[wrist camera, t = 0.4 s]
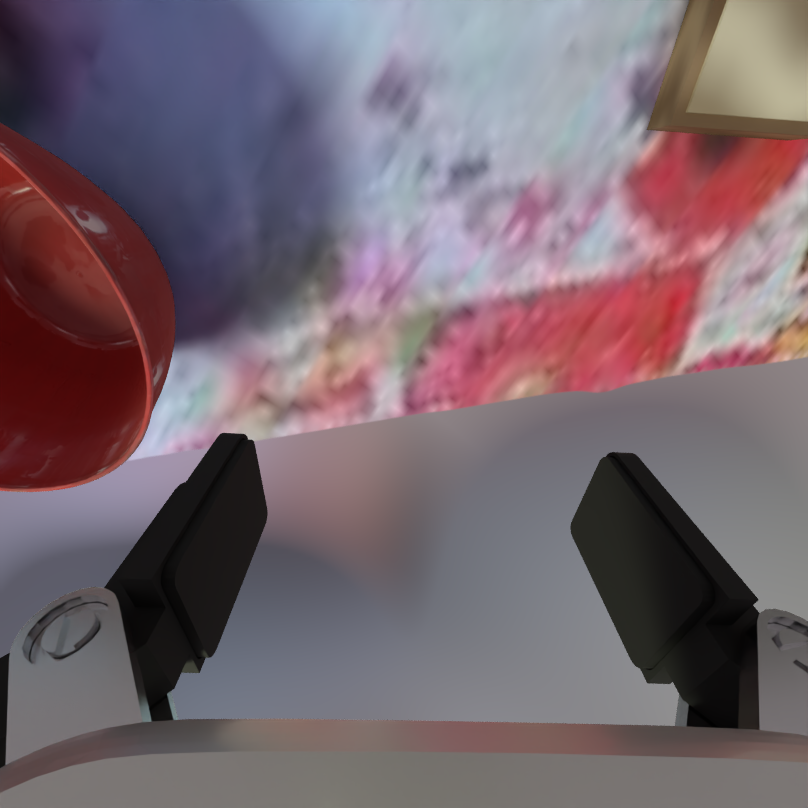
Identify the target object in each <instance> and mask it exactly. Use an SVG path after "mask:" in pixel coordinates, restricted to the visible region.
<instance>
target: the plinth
mask: <svg viewBox="0 0 808 808" xmlns="http://www.w3.org/2000/svg"><path fill="white" fill-rule="evenodd" d="M647 130H657V131H670V132H684V133H697V134H710V135H724V136H737V137H751V138H764V139H777V140H796V139H807V138H808V0H690V1H689V4H688V7H687V10H686V13H685V16H684V19H683V22H682V25H681V28H680V31H679V34H678V37H677V40H676V43H675V46H674V49H673V52H672V55H671V58H670V61H669V65H668V68H667V71H666V74H665V77H664V80H663V83H662V86H661V89H660V92H659V95H658V98H657V101H656V104H655V107H654V110H653V113H652V116H651V119H650V122H649V125H648V128H647Z"/></svg>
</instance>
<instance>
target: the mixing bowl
mask: <svg viewBox="0 0 808 808" xmlns="http://www.w3.org/2000/svg"><path fill="white" fill-rule="evenodd" d="M174 341H175V305H174V298H173V293H172V289H171V286H170V282H169V279H168V276H167V273H166V271H165V269H164V267H163V265H162V263H161V260H160V258H159V256H158V254H157V252H156V251H155V249H154V248H153V246H152V245H151V243H150V242H149V240H148V239H147V237H146V236H145V234H144V233H143V231H142V230H141V228H140V227H139V226H138V225H137V224H136V223H135V222H134V221H133V219H132V218H131V217H130V216H129V215H128V214H127V213H126V212H125V210H124V209H122V208H121V207H120V206H119V205H118V204H117V203H116V202H115V201H114V200H113V199H112V198H111V197H109V196H108V195H107V194H106V193H105V192H103V191H102V190H101V189H100V188H99V187H97V186H96V185H95V184H94V183H92V182H91V181H90V180H89V179H88V178H86V177H85V176H84V175H82V174H81V173H80V172H78V171H77V170H76V169H74V168H73V167H71V166H70V165H68V164H67V163H66V162H64V161H63V160H61V159H60V158H58V157H56V156H55V155H53V154H52V153H50V152H48V151H47V150H45V149H44V148H42V147H40V146H39V145H37V144H36V143H34V142H32V141H31V140H29V139H27V138H25V137H24V136H22V135H20V134H19V133H17V132H15V131H14V130H12V129H10V128H9V127H7V126H5V125H3V124H1V123H0V491H12V492H37V491H38V492H39V491H52V490H59V489H65V488H70V487H75V486H79V485H82V484H85V483H88V482H91V481H94V480H96V479H98V478H100V477H103V476H105V475H106V474H108V473H110V472H111V471H113V470H115V469H116V468H118V467H119V466H120V465H122V464H123V463H124V462H125V461H126V460H127V459H128V458H129V457H130V456H131V455H132V454H133V453H134V452H135V450H136V449H137V447H138V446H139V444H140V443H141V441H142V440H143V438H144V435H145V433H146V431H147V428H148V425H149V422H150V418H151V414H152V411H153V409H154V406H155V404H156V402H157V400H158V398H159V396H160V394H161V391H162V388H163V385H164V383H165V380H166V377H167V374H168V370H169V366H170V362H171V357H172V352H173V348H174Z"/></svg>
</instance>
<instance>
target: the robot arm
mask: <svg viewBox="0 0 808 808" xmlns="http://www.w3.org/2000/svg"><path fill="white" fill-rule="evenodd" d="M266 520H267V506H266V500H265V495H264V490H263V485H262V480H261V475H260V469H259V464H258V459H257V454H256V449H255V444H254V441H253V440H248V438H247V436H246V435H245V434H234V433H221V434H220V435H219V436H218V437H217V439H216V440H215V442H214V443H213V444H212V446H211V447H210V449H209V450H208V451H207V453H206V454H205V456H204V457H203V459H202V460H201V461H200V463H199V464H198V466H197V467H196V468H195V470H194V471H193V473H192V474H191V476H190V477H189V479H188V480H187V481H186V483H185V482H184V483H182V484H180V485H179V486H178V487H177V488H176V489H175V490H174V492H173V493H172V495H171V496H170V497H169V499H168V500H167V502H166V503H165V504H164V506H163V507H162V509H161V510H160V511H159V513H158V514H157V515H156V517H155V518H154V520H153V521H152V523H151V524H150V525H149V526H148V528H147V529H146V531H145V532H144V533H143V535H142V536H141V537H140V539H139V540H138V542H137V543H136V544H135V546H134V547H133V549H132V550H131V551H130V553H129V554H128V556H127V557H126V558H125V560H124V561H123V563H122V564H121V565H120V567H119V568H118V569H117V571H116V572H115V574H114V575H113V576H112V578H111V579H110V580H109V582H108V583H107V585H106V586H105V587H104V588H98V587H91V588H85V589H79V590H77V591H74V592H71V593H69V594H66V595H64V596H62V597H60V598H59V599H57V600H55V601H53V602H51V603H50V604H48V605H47V606H45V607H44V608H43V609H42V610H40V611H39V612H38V613H37V614H35V615H34V616H33V617H32V618H31V619H30V620H29V621H28V622H27V623H26V625H25V626H24V627H23V628H22V629H21V630H20V632H19V634H18V635H17V637H16V639H15V640H14V642H13V644H12V648H11V652H10V653H9V654H7V655H5V656H3V657H1V658H0V808H808V621H806V620H805V619H803V618H801V617H799V616H796V615H794V614H792V613H789V612H787V611H782V610H778V609H766V610H764V611H762V612H761V613H759V612H758V611H757V610H756V608H755V607H754V606H753V604H754V603H756V602H757V601H758V598H757V597H756V596H755V595H754V594H753V593H752V591H751V590H750V589H749V588H748V586H746V584H745V583H744V582H743V581H742V579H741V578H740V577H739V576H738V575H737V574H736V572H735V571H734V570H733V569H732V568H731V566H730V565H729V564H728V563H727V562H726V561H725V559H724V558H723V557H722V556H721V554H720V553H719V552H718V551H717V550H716V549H715V547H714V546H713V545H712V544H711V543H710V542H709V540H708V539H707V538H706V537H705V536H704V534H703V533H702V532H701V531H700V530H699V528H698V527H697V526H696V525H695V524H694V523H693V521H692V520H691V519H690V518H689V517H688V515H687V514H686V513H685V512H684V511H683V509H682V508H681V507H680V506H679V505H678V504H677V502H676V501H675V500H674V499H673V498H672V496H671V495H670V494H669V493H668V492H667V491H666V489H665V488H664V487H663V486H662V485H661V483H660V482H659V481H658V480H657V479H656V477H655V476H654V475H653V474H652V473H651V471H650V470H649V469H648V468H647V467H646V466H645V465H644V463H643V462H642V461H641V460H640V458H639V457H638V456H636V455H635V454H633V453H618V452H616V453H615V452H612V453H609V454H608V455H607V456H606V457H603V458H602V459H601V460H600V462H599V464H598V466H597V468H596V470H595V472H594V475H593V477H592V479H591V481H590V484H589V486H588V487H587V490H586V492H585V494H584V496H583V498H582V501H581V503H580V505H579V507H578V509H577V512H576V513H575V516H574V518H573V520H572V522H571V534H572V537H573V539H574V541H575V543H576V545H577V547H578V549H579V551H580V554H581V556H582V557H583V560H584V562H585V564H586V566H587V568H588V570H589V573H590V575H591V577H592V579H593V581H594V583H595V585H596V587H597V589H598V592H599V594H600V596H601V598H602V600H603V602H604V604H605V606H606V608H607V611H608V613H609V615H610V617H611V619H612V621H613V623H614V625H615V627H616V630H617V632H618V634H619V636H620V638H621V640H622V642H623V644H624V646H625V648H626V651H627V653H628V655H629V657H630V659H631V660H632V662H633V663H634V665H635V666H636V667H638V668H640V669H641V671H642V673H643V675H644V677H645V679H646V682H647V683H657V684H670V683H672V682H673V683H674V685H675V687H676V688H677V690H678V692H679V699H678V707H677V714H676V721H675V726H651V725H608V724H606V725H605V724H566V723H565V724H564V723H516V722H514V723H512V722H463V721H405V720H404V721H403V720H333V719H186V720H178V716H177V713H176V709H175V705H174V701H173V697H172V694H171V691H172V690H173V689H174V688H175V686H176V683H177V681H178V679H179V677H180V674H181V672H184V673H200V670H201V668H202V665H203V663H204V660H205V658H206V657H207V658H209V657H212V656H213V654H214V653H215V651H216V649H217V647H218V644H219V642H220V639H221V636H222V634H223V631H224V629H225V626H226V624H227V621H228V618H229V616H230V613H231V611H232V608H233V605H234V603H235V601H236V598H237V595H238V593H239V590H240V588H241V585H242V583H243V580H244V578H245V575H246V573H247V570H248V567H249V565H250V562H251V560H252V557H253V555H254V552H255V550H256V547H257V544H258V542H259V539H260V537H261V534H262V532H263V529H264V527H265V524H266Z"/></svg>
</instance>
